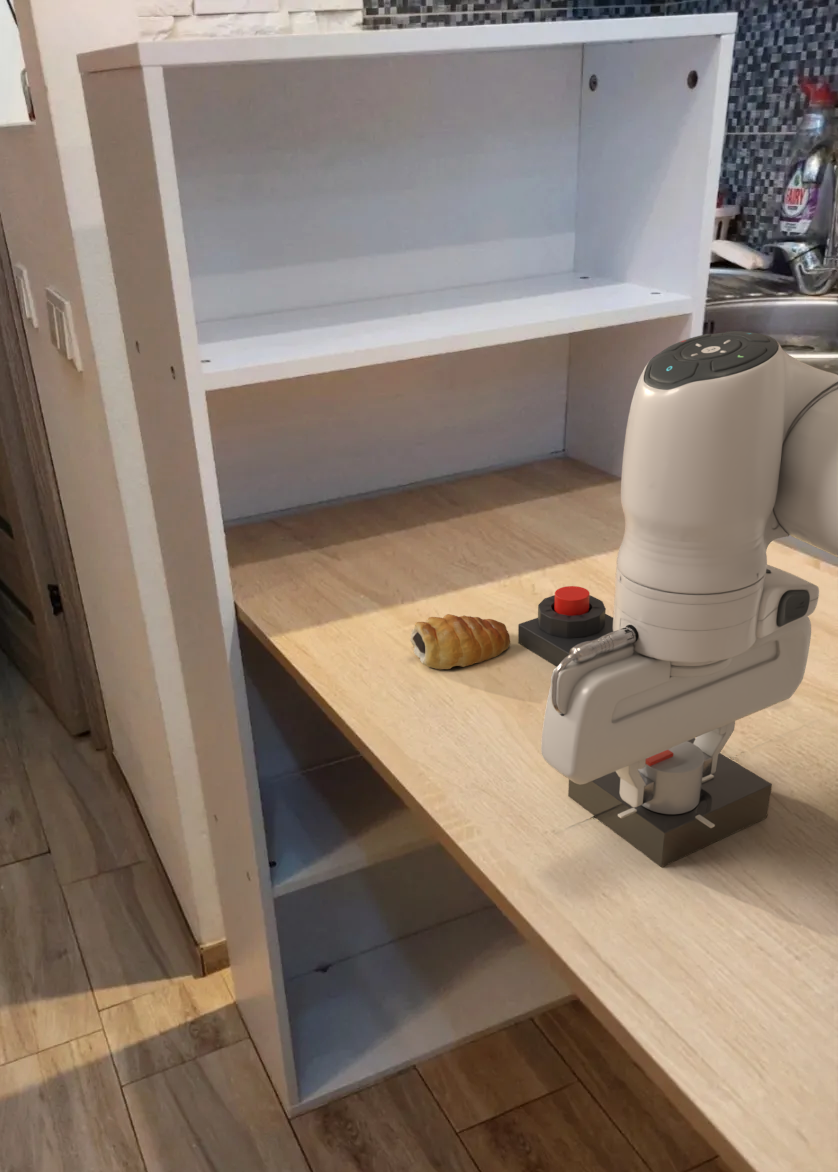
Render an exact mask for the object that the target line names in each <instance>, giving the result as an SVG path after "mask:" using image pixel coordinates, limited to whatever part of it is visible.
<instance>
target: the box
mask: <svg viewBox="0 0 838 1172" xmlns="http://www.w3.org/2000/svg"><path fill="white" fill-rule="evenodd" d="M554 604H555V594H554V595H551V596H548V597H545V598H543V599H542V600H541V602H540V603H538V605H537V617H536V618H533V619H530V620H526V621H524V622H521V623H519V624H518V625H517V626H518V627H517V633H518V634H517V643H518V645H520V646H522V647H524V648H525V649H527V650H529V651H530V652H531V653H533V654H534V655H536V656H538V657H540V658H542V659H543V660H545V661H546V662H548V663H550V664H551V665H553V666H555V668H556V667H557V666H558V665H559V664H560V663H561V661H562V660H563V659H564V658H565V657H567V656H568V655H569V654H570V649H571V648H573V647H574V646H576V645H578V644H580V643H582V642H586V641H593V640H596V639H598V638H600V637H602V636H604V635H606V634H608V633H611V632H613V617H612V616H611V615H609V614H607V613H606V610H607V609H606V607H605V603H604V602H603V601H602V599H601V600H600V599H599V598H597V597H595V596H593V595H589V611H588V613H585V614H582V615H574V616H569V615H563V614H558V613H556V612H555V610H554Z"/></svg>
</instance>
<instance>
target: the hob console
mask: <svg viewBox="0 0 838 1172" xmlns="http://www.w3.org/2000/svg"><path fill="white" fill-rule="evenodd" d="M695 739H696V738H693V739H691V740H689V741H688V742H690V743H692V744H693V743H694V741H695ZM772 788H773V783H771V782H769V781H768V780H766V779H764V778H762V777H761V776H759V775H758V774H756V773H754V772H753V771H751V770H749V769H748V768H747V767H744V766H743V765H741V764H739V763H737V762H736V761H734V760H732V759H731V758H730V757H727V756H726V755H724V754H723V753H721V752H720V754H718V759H717V767H716V772H715V773H713V774H710V775H708V776H706V777H703V778H702V785H701V793H700V801H699V804H698V805H697V806H696V807H695V808H694V809H693V810H691V811H689V812H686V813H682V814H662V813H657V812H654V811H651V810H649V809H647V808H645V807H644V806H642V805H640V806H638V807H635V808H634V807H632V806H631V805H629V804H628V803H626V802H625V801H624V800H622V798H621V796H620V777H619V776H618V774H617V773H616V771H614V772H612V773H609V774H607V775H605V776H602V777H600V778H598V779H595V780H593V781H590V782H588V783H585V784H576V783H574V782H573V781H571V780H569V779H568V788H567V789H568V791H567V795H568V797H569V798H570V799H571V800H572V801H574V802H576V803H577V804H578V805H579V806H581V807H582V808H583V809H584V810H585V811H588V812H589V813H590V814H591V815H593V818H595V819H596V820H598V821H599V822H601V823H602V824H603V825H605V826H606V827H607V828H609V829H610V830H611V831H612V832H614V833H615V834H616V835H618V836H619V837H620V838H622V839H623V840H624V841H626V842H627V843H628V844H630V845H631V846H632V847H633V848H635V849H636V850H637V851H639V852H640V853H642V854H643V855H644V856H645V857H647V858H648V859H650V860H651V861H652V862H653V863H655V864H656V865H657V866H659V867H660V868H663V867H666V866H668V865H669V864H672V863H673V862H676V861H679V860H680V859H683V858H684V857H686V856H687V857H688V856H689V855H690V854H693V853H695V852H698V851H699V850H701V849H703V848H705V847H708V846H710V845H712V844H714V843H716V842H718V841H721V840H723V839H725V838H727V837H729V836H731V835H733V834H736V833H737V832H740V831H742V830H744V829H746V828H748V827H750V826H753V825H754V824H757V823H759V822H761V821H763V820H765V819H767V818H768V812H769V806H770V800H771V794H772Z"/></svg>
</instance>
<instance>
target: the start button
mask: <svg viewBox="0 0 838 1172" xmlns="http://www.w3.org/2000/svg"><path fill="white" fill-rule="evenodd" d="M590 594H591V593H590V590H588V589H587V588H584V587H582V586H576V585H567V586H562V587H559V588H557V589H556V590H555V591H554V595H555V604H554V610H555V612H556V613H558V614H563V615H569V616H574V615H582V614H585V613H588V611H589V595H590Z"/></svg>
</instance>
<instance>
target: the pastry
mask: <svg viewBox="0 0 838 1172" xmlns="http://www.w3.org/2000/svg"><path fill="white" fill-rule="evenodd" d="M409 640H410V643H411V645H412V646H413V647H412V648H413V653H414V655H415V656H416V657H417V658H418V659H419V661H420V663H421V664H422V665H423V666H426V667H428V668H432V669H435V670H440V671H441V670H451V669H452V668H453V667H461V668H465V667H468V666H472V665H474V664H478V663H479V664H480V663H482V662H484V661H488V660H491V659H494V658H496V657H498V656H499V655H501V654H502V653H503V652H504V651H506V650H508V649H509V647H510V645H511V636H510V633H509V631H508V629H507V626H506V624H505V623H503V622H500V621H498V620H496V619H493V618H481V617H479V616H471V615H460V616H458V615H454V614H450V613H447V614H445V615H444V616H443V617H439V616H429V617H427V619H426V621H416V622H415V623H414V627H413V629H412V630H411V634H410V639H409Z"/></svg>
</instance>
